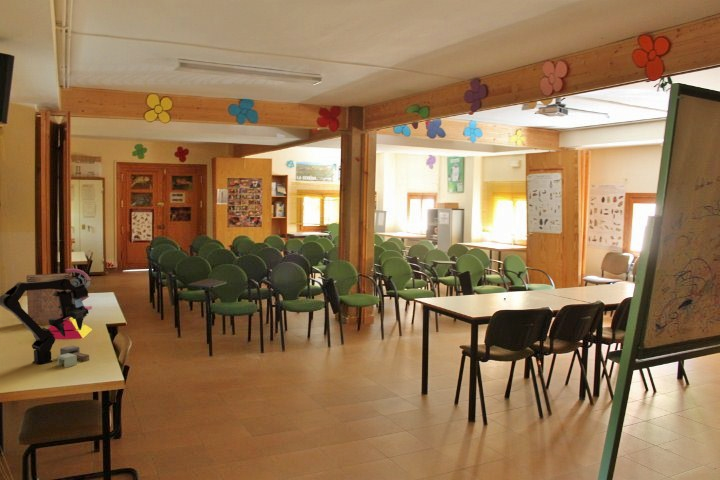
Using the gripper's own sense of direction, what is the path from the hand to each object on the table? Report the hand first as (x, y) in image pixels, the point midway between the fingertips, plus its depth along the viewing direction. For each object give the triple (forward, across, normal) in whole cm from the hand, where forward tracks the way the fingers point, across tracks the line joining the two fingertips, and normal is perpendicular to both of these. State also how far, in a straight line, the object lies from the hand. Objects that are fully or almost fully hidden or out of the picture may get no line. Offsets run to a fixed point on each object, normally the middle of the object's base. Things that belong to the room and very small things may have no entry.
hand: (72, 333), depth 292 cm
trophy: (+21, +81, +103) cm, 133 cm away
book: (+17, +48, +85) cm, 99 cm away
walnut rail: (+11, -4, -8) cm, 15 cm away
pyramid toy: (+15, +28, +45) cm, 55 cm away
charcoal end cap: (+11, -3, +1) cm, 12 cm away
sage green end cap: (+10, -14, -11) cm, 20 cm away
